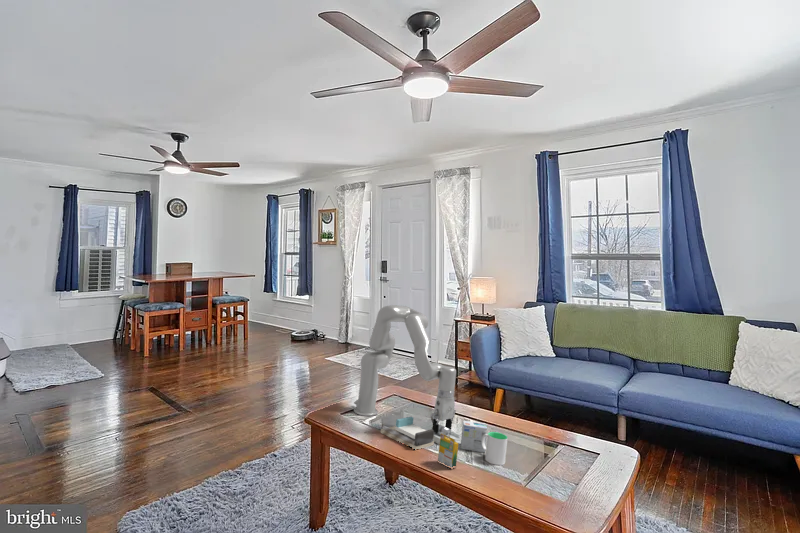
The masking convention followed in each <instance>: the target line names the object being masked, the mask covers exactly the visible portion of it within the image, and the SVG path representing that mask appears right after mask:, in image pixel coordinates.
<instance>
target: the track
mask: <svg viewBox="0 0 800 533" xmlns="http://www.w3.org/2000/svg"><path fill="white" fill-rule="evenodd" d="M395 428H396V425H394V426H387V425H382V428H381V429H380V433H381V434H382V435H384V436H386V437H388V438H390V439H392V440H394V441H396V442H398V441H399V442H398V443H400V442H401V443H404V444H406V445H408V446H410V447H412V448H413V449H415V450H416V449H419V450H422V449H425V448H429V447H432V446H434V444H435V442H434V441H433V436H434V430H432V428H431V429H426V430H427V431H423V432H419V433H416V434H415V440H413V439H411V438H409V437H407V436H405V434H404V435H403V434H401V433H399V431H397V430H395ZM401 443H400V444H401ZM421 448H422V449H421ZM413 449H412V450H413ZM415 450H414V451H415ZM416 451H417V450H416Z"/></svg>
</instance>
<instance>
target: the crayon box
mask: <svg viewBox="0 0 800 533" xmlns="http://www.w3.org/2000/svg"><path fill="white" fill-rule="evenodd" d="M446 437H448V436H446V435H444V434H442V433H441V437H440V444H438V445H439V447H438V456H437V462H438V461H439V462H441V463H444V464H445V465H447V466H450V467H453V466H456V467H457V460H458V451H459V443H458V442H457V441H455V439H453V438H451V437H448V438H449V439H448V438H446Z"/></svg>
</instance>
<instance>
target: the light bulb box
mask: <svg viewBox="0 0 800 533" xmlns="http://www.w3.org/2000/svg"><path fill="white" fill-rule="evenodd" d="M461 426H462V428H461V435H460V449H461V450H467V451H473V452H480V453H486V451H485V450H484V449H483V447H482V437H483V435H485V434H488V427H487V424H486V423H485V422H475V421H471V420H465V419H464V420H462V425H461ZM485 446H486V447H487V436H486V437H485Z"/></svg>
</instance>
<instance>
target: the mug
mask: <svg viewBox="0 0 800 533" xmlns="http://www.w3.org/2000/svg"><path fill="white" fill-rule="evenodd" d="M485 437H486V446H485ZM482 447H483V449H484V450H485V458H484V459H485V461H486V462H487V463H489V464H492V465H495V466H503V465H505V463H506V456H507V447H508V436H507V435H506V434H503V433H502V432H496V431H490V432H487V434H485V435H483V437H482Z"/></svg>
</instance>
